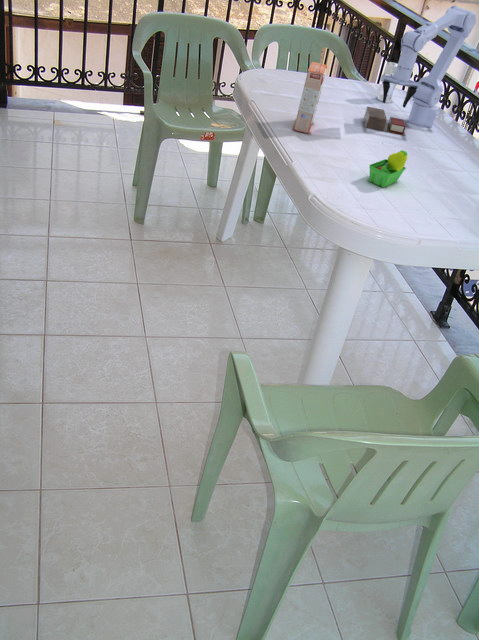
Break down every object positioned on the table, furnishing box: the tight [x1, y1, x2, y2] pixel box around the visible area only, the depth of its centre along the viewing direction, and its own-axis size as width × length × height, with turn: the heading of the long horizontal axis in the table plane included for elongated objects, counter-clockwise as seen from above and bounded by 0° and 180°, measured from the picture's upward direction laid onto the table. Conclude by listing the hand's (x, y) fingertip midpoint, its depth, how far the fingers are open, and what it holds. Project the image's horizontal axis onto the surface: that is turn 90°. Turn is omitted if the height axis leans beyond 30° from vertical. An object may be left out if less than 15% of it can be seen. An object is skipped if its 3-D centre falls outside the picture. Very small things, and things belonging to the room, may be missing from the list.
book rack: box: [363, 106, 407, 137], centre depth 254 cm, size 15×12×6 cm
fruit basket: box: [369, 149, 408, 188], centre depth 208 cm, size 11×9×11 cm
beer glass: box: [377, 61, 398, 103], centre depth 288 cm, size 7×7×15 cm
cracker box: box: [293, 61, 328, 135], centre depth 237 cm, size 14×6×21 cm, turn 168°
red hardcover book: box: [388, 116, 407, 134], centre depth 254 cm, size 5×8×3 cm, turn 175°
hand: (393, 104), depth 253 cm, fingers open, 7 cm apart
